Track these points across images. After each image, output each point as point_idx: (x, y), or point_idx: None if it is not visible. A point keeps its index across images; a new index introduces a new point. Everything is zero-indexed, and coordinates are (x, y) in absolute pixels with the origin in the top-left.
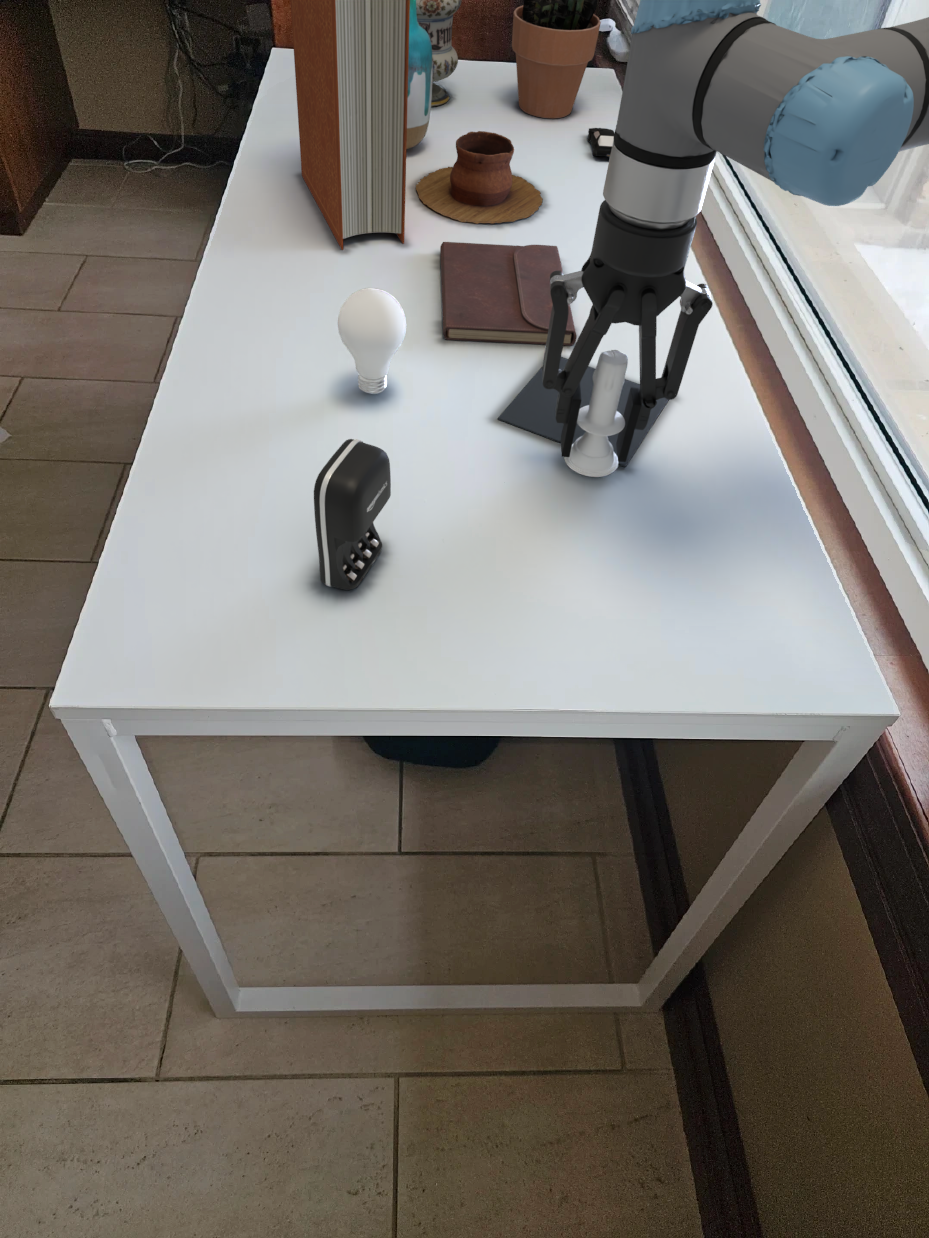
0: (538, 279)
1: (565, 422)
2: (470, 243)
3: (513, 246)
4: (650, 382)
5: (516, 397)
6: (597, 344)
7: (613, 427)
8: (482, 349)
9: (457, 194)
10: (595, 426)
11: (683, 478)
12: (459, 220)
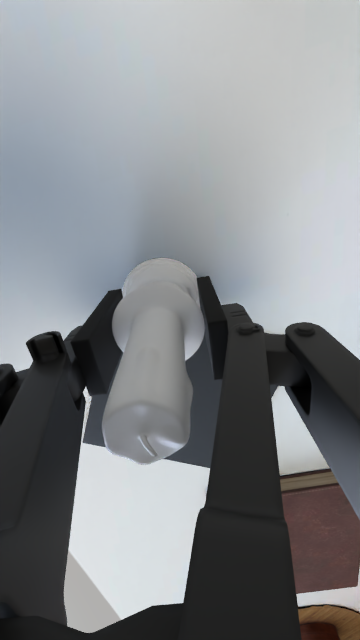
0: None
1: (221, 306)
2: (328, 589)
3: None
4: (35, 383)
5: (272, 393)
6: (218, 454)
7: (130, 311)
8: (312, 460)
9: (333, 632)
10: (164, 305)
11: (29, 299)
12: (329, 606)
